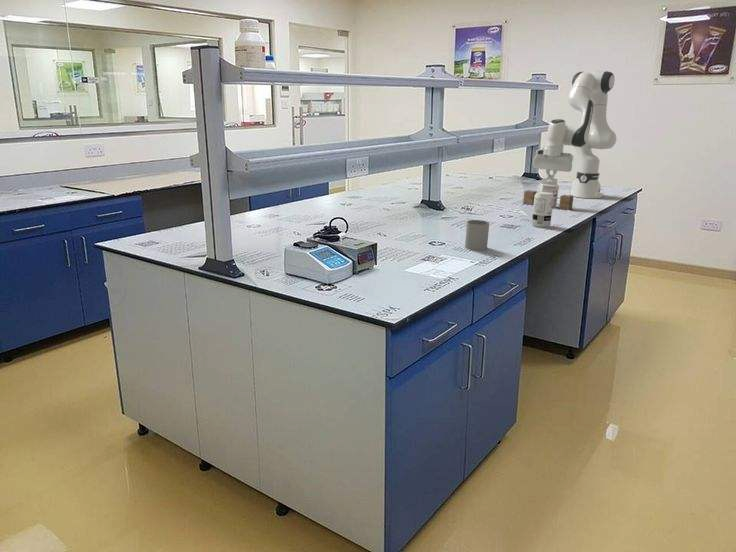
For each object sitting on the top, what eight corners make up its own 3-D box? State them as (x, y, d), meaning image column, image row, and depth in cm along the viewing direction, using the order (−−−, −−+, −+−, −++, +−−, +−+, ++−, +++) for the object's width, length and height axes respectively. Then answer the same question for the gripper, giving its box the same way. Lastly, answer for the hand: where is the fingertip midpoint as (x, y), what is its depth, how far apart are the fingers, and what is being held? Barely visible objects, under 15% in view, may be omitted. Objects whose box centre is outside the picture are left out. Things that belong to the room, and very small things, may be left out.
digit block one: (562, 208, 302) (564, 194, 300) (571, 209, 299) (573, 195, 297) (558, 209, 298) (560, 195, 296) (568, 210, 295) (570, 197, 293)
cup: (462, 249, 217) (464, 223, 213) (467, 244, 224) (469, 219, 221) (485, 251, 214) (487, 225, 211) (488, 246, 221) (491, 221, 218)
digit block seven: (527, 202, 314) (528, 189, 312) (535, 204, 311) (537, 191, 309) (523, 203, 310) (524, 190, 308) (531, 205, 307) (533, 192, 305)
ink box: (539, 207, 303) (543, 179, 298) (538, 205, 308) (541, 177, 303) (556, 207, 302) (559, 179, 298) (554, 206, 307) (557, 178, 302)
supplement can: (529, 223, 263) (533, 191, 258) (547, 224, 263) (551, 191, 258) (533, 227, 255) (537, 194, 251) (552, 228, 255) (556, 194, 251)
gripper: (575, 153, 292) (572, 180, 296) (537, 149, 304) (534, 175, 309) (571, 154, 287) (567, 181, 292) (533, 150, 300) (530, 177, 304)
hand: (550, 178), depth 300 cm, fingers closed
